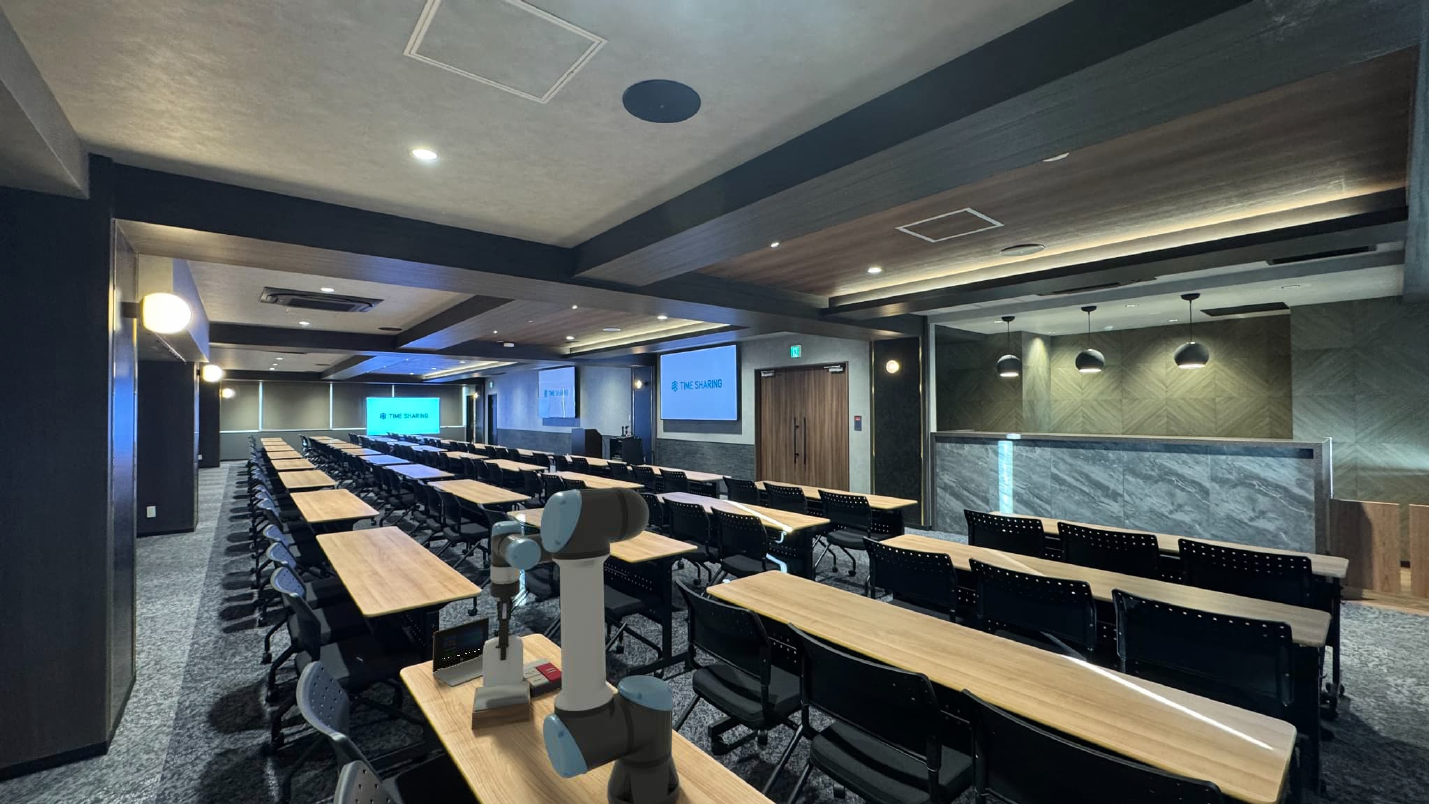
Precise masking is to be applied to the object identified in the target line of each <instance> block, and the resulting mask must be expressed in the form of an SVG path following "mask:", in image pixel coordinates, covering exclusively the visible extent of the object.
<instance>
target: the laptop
mask: <svg viewBox="0 0 1429 804" xmlns="http://www.w3.org/2000/svg"><path fill="white" fill-rule="evenodd" d="M489 626H490V617H489V616H486V617H483V618H479V619H476V620H472V621H469V622H468V621H467V622H465V623H462V624H458V625H454V626H451V627H448V628H445V629H441V630H437V631H435V632H433V643H432V644H433V646H432V650H433V651H432V675H433V676H434V677H436V678H437V679H438V680H440V681H442V682H444V683H446V684H447V685H449V686H450V687H454V686H458V685H461V684H463V683H466V682H468V681H471V680H475V679H476V678H479V677H483V649H484V645H485V642H486V641H488V640H489V635H490V634H489V633H490V632H489V631H490V627H489ZM478 649H480V650H478ZM474 651H476V652H474ZM469 652H470V653H469ZM465 653H467V654H465ZM457 655H460V656H457ZM448 657H449V658H448ZM444 658H445V659H444Z"/></svg>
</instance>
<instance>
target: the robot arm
mask: <svg viewBox="0 0 1429 804" xmlns="http://www.w3.org/2000/svg"><path fill="white" fill-rule="evenodd" d="M649 510H650V509H649V506H648V503H647V502H646V500H645V498H643V496H642V495H641V494H640V493H638V492H637V491H635V490H633V489H631V488H629V487H624V486H623V487H622V486H614V487H601V488H586V489H576V488H574V489H571V490H565V491H558V492H556V493H554V494H552V495H551V496H550V497H549V499H548V500H547V502H546V504H545V506H544V507H543V511H542V514H541V520H540V527H539V528H540V529H539V530H540V533H536V534H529V535H528V534H527V535H523V529H522V523H521V522H519V521H516V520H507V521H506V520H505V521H499V522H496V523H494V524H493V525H492V528H491V529H492V530H491V535H490V536H491V537H490V538H491V551H490V552H491V560H490V581H491V582H490V590H489V591H490V592H489V593H490V594H489V595H490V597H493V598H494V599H495V598H496V599H497V600H496V602H497V603H496V611H497V619H496V620H497V621H498V622H499V623H498V637H499V644H498V646H495V649H496V648H498V663H497V672H505V671H508V659H509V643H508V641H509V636H512V633H509V632H510V620H511V619H512V609H513V602H514V601H513V598H512V597H515V596H518V595H519V594H520V592H521V580H520V577H521V571H528V570H530V569H533V568H534V567H535V566H536V565H539V564H544V563H551V562H554V563H555V564H556V565H558V566H559V581H560V582H559V589H560V590H559V593H560V599H559V601H560V647H561V648H560V652H561V653H560V654H561V655H560V656H561V665H560V666H561V672H562V688H561V690H560V691H559V692H558V694H557V695H556V696H555V697H554V700H553V707H554V709H553V712H550V713H549V714H547V715H546V716H545V717H544V720H543V722H542V723H543V724H542V735H543V736H542V737H543V741H544V746H545V750H546V752H547V756H548V758H549V761H550V764H551V765H552V768H553V769H554V771H555V772H556V773H557V774H558V775H559V776H560V777H561V778H564V779H572V778H574V777H577V776H580V775H586V774H587V773H588V772H591V771H593V770H596V769H598V768H600V767H603V766H605V765H608V764H610V763H612V762H614V764H613V767H612V769H611V772H610V775H609V779H608V782H607V788H606V789H607V794H606V798H607V801H608V804H674V803H676V802H677V801H676V800H678V799H677V798H679V795H680V778H679V774H678V770H677V767H676V765H675V764H676V763H675V761H674V757H673V751H672V750H673V747H672V745H673V710H674V698H673V690H672V687H671V686H670V685H669V683H667V682H666V681H664V680H663V679H660V678H658V677H654V676H651V675H642V674H641V675H640V674H638V675H631V676H626V677H624V678H622V679H620V681H619V683H618V685H617V687H616V690H617V692H615V691H614V690H613V688H611V686H609V685H608V684H607V678H606V677H607V675H606V670H607V669H606V634H605V633H606V632H605V631H606V630H605V629H606V627H605V626H606V625H605V589H604V587H605V585H604V584H605V583H604V563H605V561H606V560H607V559H608V558H609V557H610V556H611V544H615V543H620V542H625V541H629V540H632V539H634V538H636V537H637V536H639V535H640V534H642V532H644V530H646V527H647V526H648V523H649V521H650V520H649V517H650V511H649ZM511 598H512V599H511ZM498 599H499V600H498Z"/></svg>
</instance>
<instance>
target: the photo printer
mask: <svg viewBox="0 0 1429 804" xmlns="http://www.w3.org/2000/svg"><path fill="white" fill-rule="evenodd" d="M508 643H509V659H508V671H505V672H497V663H498V648H496V649H495V646H498V644H499V636H497V637H496V636H495V637H493V638H490V639H488V641H486V642H485V645H484V649H483V676H482V687H493V686H500V685H507V684H513V683H518V682H521V681H522V680H523V664H524V642H523V640H522V636H517V635H511V636H509V641H508Z"/></svg>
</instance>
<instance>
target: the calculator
mask: <svg viewBox="0 0 1429 804" xmlns="http://www.w3.org/2000/svg"><path fill="white" fill-rule="evenodd" d="M522 681H529V689H530V698H531V699H532V698H536V697H539V696H543V695H546V694H548V693H551V692H553V691H557V690H560V689H562V670H560V669H559V668H558V667H557V666H555V665H554V664H553V663H552V662H550V661H549V659H547V658H545V657H544V658H540V659H537V660H536V659H535V660H533V661H529V662H526V663H523V680H522Z"/></svg>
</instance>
